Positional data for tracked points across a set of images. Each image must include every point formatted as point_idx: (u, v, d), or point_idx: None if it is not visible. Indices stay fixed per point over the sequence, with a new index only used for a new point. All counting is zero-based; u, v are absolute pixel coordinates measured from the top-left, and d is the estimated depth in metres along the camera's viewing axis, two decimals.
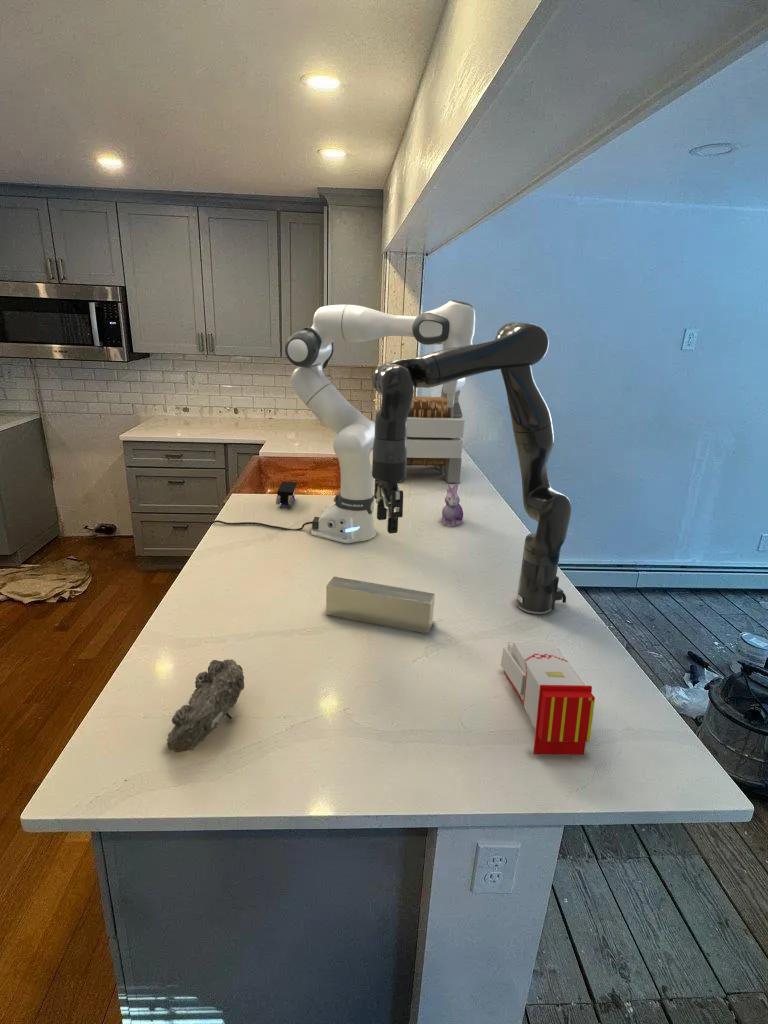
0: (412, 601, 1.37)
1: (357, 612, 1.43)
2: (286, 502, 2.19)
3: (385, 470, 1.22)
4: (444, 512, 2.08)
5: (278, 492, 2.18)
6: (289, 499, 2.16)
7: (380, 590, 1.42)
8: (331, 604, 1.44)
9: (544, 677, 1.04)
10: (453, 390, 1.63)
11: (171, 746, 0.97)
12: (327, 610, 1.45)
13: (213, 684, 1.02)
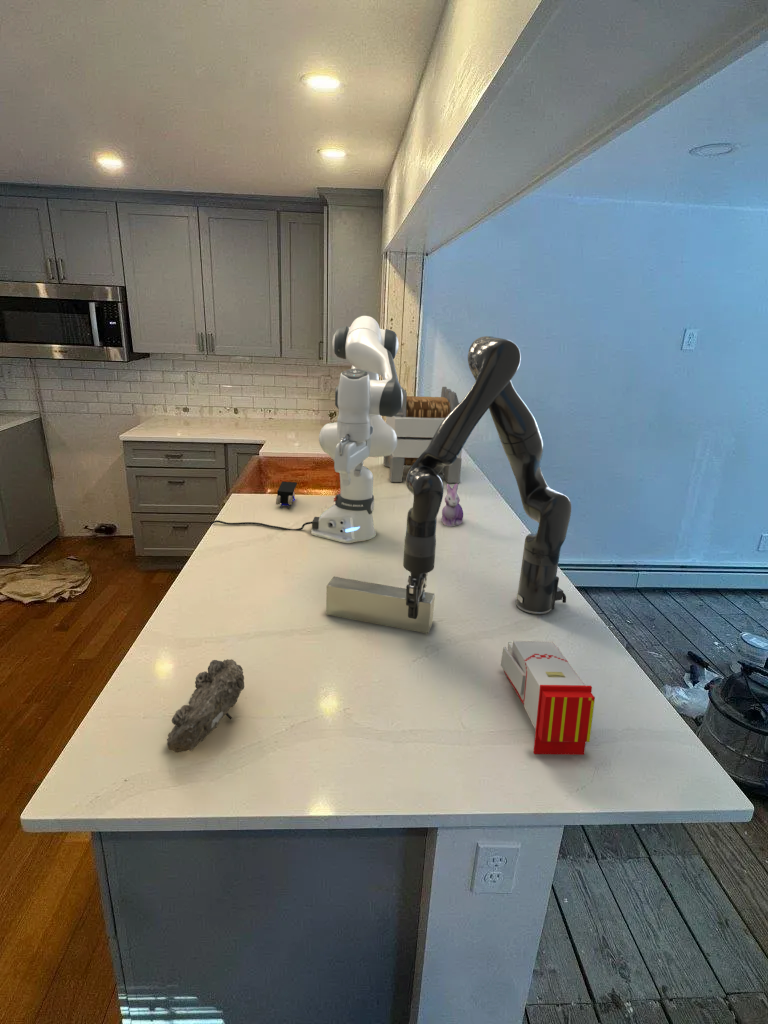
0: None
1: (357, 612, 1.43)
2: (286, 502, 2.19)
3: (408, 561, 1.34)
4: (444, 512, 2.08)
5: (278, 492, 2.18)
6: (289, 499, 2.16)
7: (380, 590, 1.42)
8: (331, 604, 1.44)
9: (544, 677, 1.04)
10: None
11: (171, 746, 0.97)
12: (327, 610, 1.45)
13: (213, 684, 1.02)
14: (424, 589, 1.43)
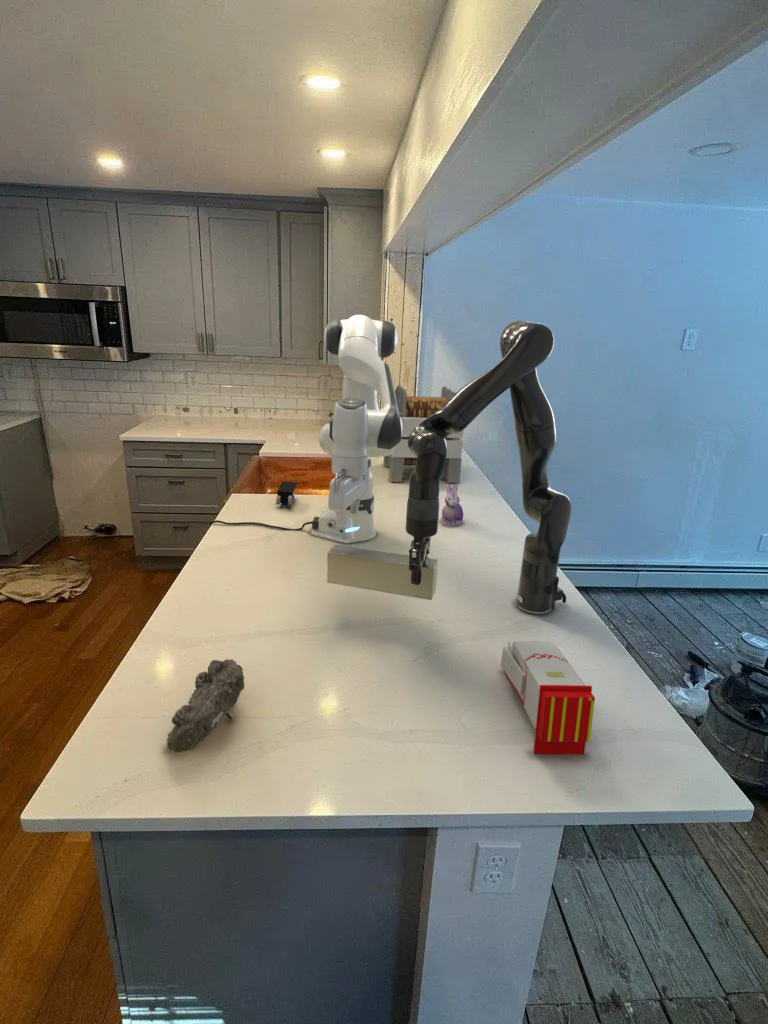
0: None
1: (359, 579, 1.40)
2: (286, 502, 2.19)
3: (411, 525, 1.31)
4: (444, 512, 2.08)
5: (278, 492, 2.18)
6: (289, 499, 2.16)
7: (382, 556, 1.38)
8: (332, 572, 1.41)
9: (544, 677, 1.04)
10: None
11: (171, 746, 0.97)
12: (328, 578, 1.42)
13: (213, 684, 1.02)
14: (427, 556, 1.40)
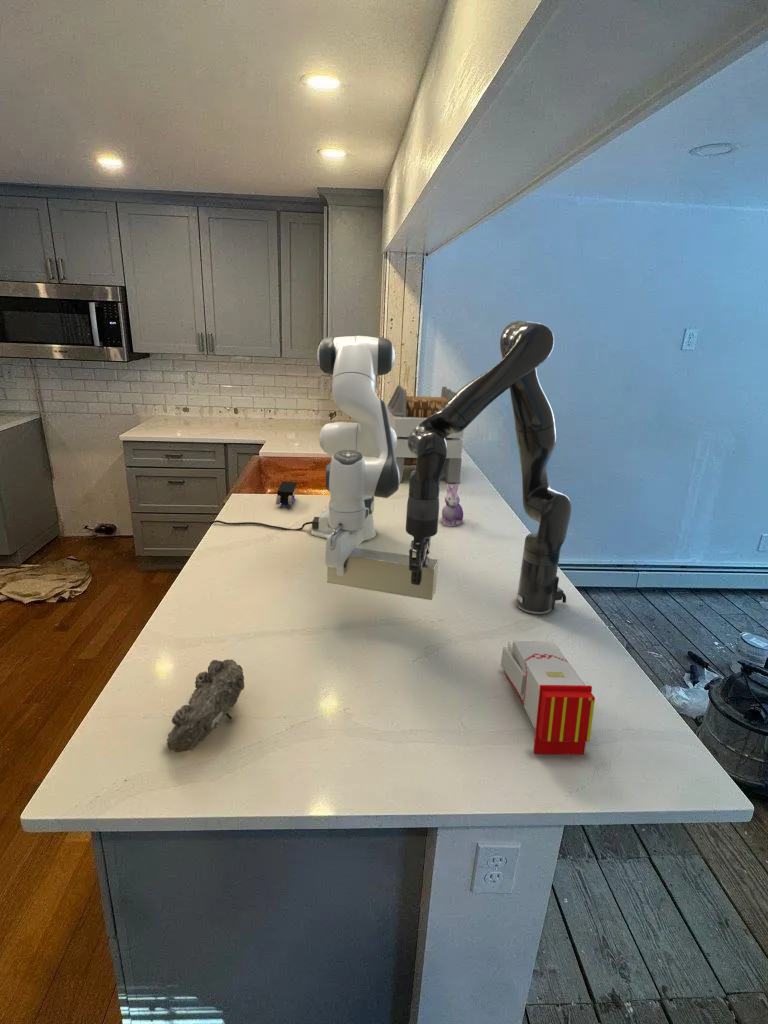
0: None
1: (359, 579, 1.40)
2: (286, 502, 2.19)
3: (411, 525, 1.31)
4: (444, 512, 2.08)
5: (278, 492, 2.18)
6: (289, 499, 2.16)
7: (382, 556, 1.38)
8: (332, 572, 1.41)
9: (544, 677, 1.04)
10: None
11: (171, 746, 0.97)
12: (328, 578, 1.42)
13: (213, 684, 1.02)
14: (427, 556, 1.40)
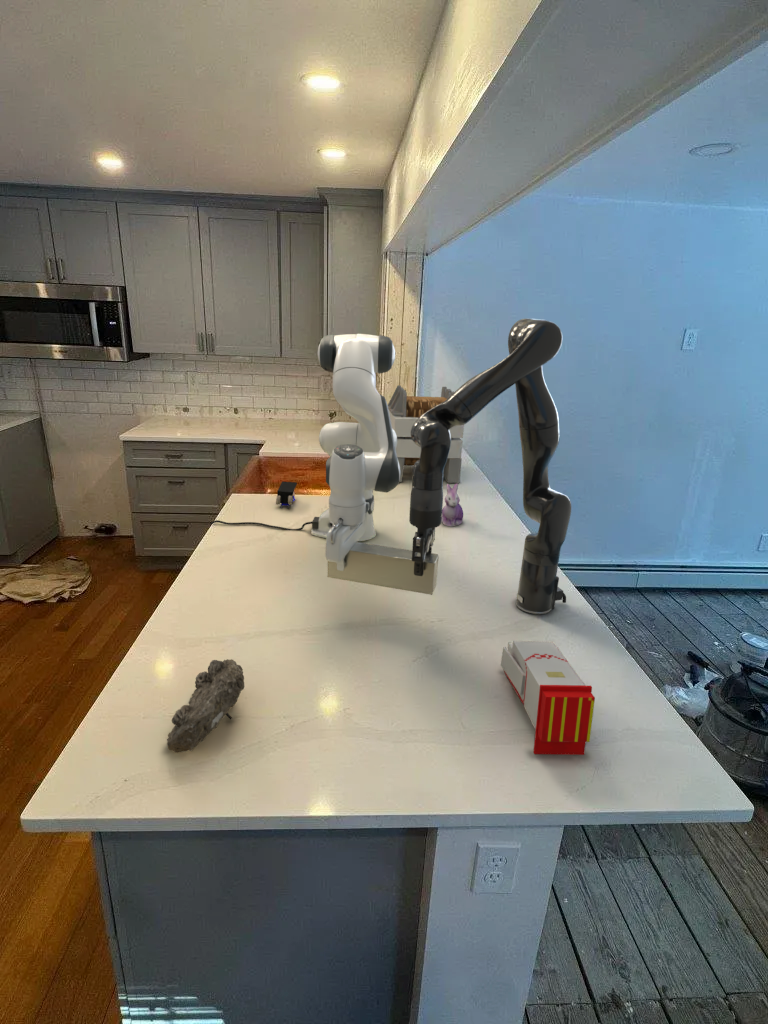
0: None
1: (359, 574, 1.39)
2: (286, 502, 2.19)
3: (414, 516, 1.30)
4: (444, 512, 2.08)
5: (278, 492, 2.18)
6: (289, 499, 2.16)
7: (383, 551, 1.38)
8: (332, 566, 1.41)
9: (544, 677, 1.04)
10: None
11: (171, 746, 0.97)
12: (328, 572, 1.42)
13: (213, 684, 1.02)
14: (432, 542, 1.40)
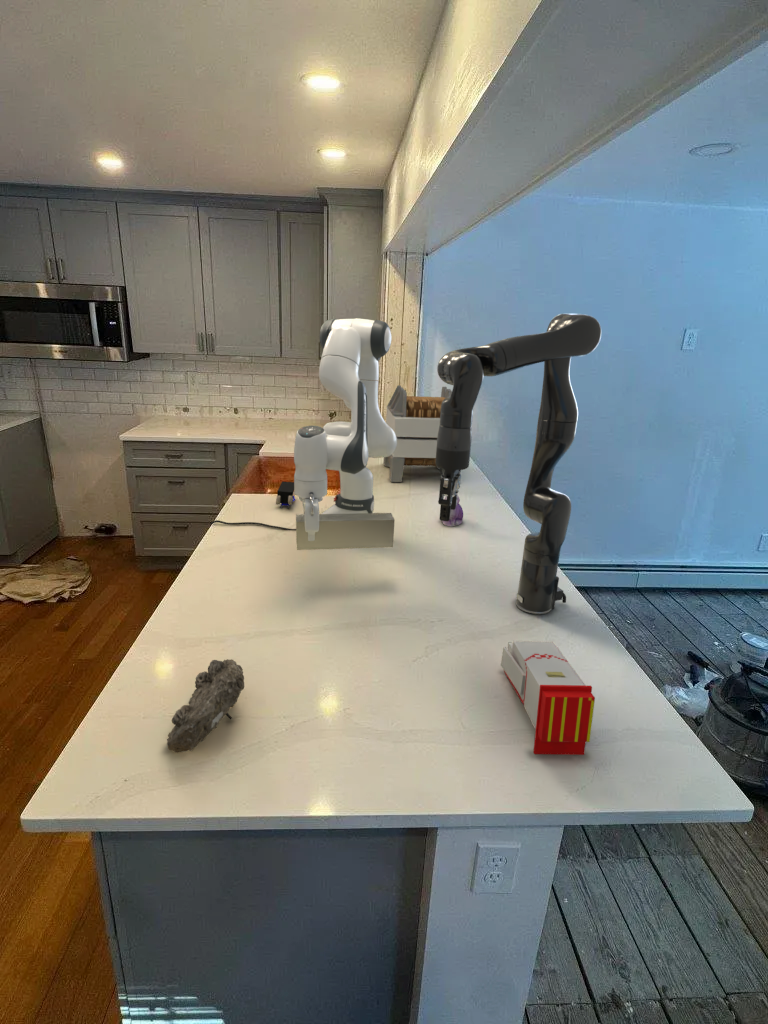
0: (378, 520, 1.56)
1: (328, 541, 1.55)
2: (286, 502, 2.19)
3: (442, 457, 1.23)
4: None
5: (278, 492, 2.18)
6: (289, 499, 2.16)
7: (346, 517, 1.56)
8: (301, 539, 1.54)
9: (544, 677, 1.04)
10: None
11: (171, 746, 0.97)
12: (297, 545, 1.54)
13: (213, 684, 1.02)
14: None
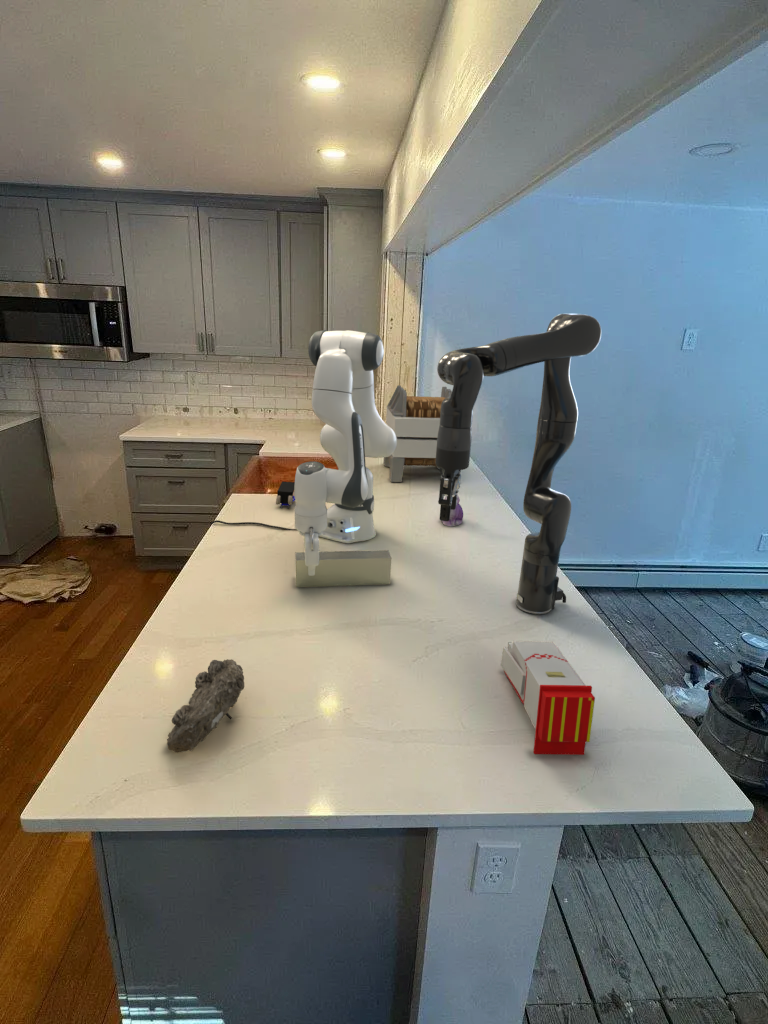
0: (375, 559, 1.60)
1: (326, 579, 1.59)
2: (286, 502, 2.19)
3: (442, 457, 1.23)
4: None
5: (278, 492, 2.18)
6: (289, 499, 2.16)
7: (344, 555, 1.60)
8: (300, 577, 1.58)
9: (544, 677, 1.04)
10: None
11: (171, 746, 0.97)
12: (296, 583, 1.58)
13: (213, 684, 1.02)
14: None
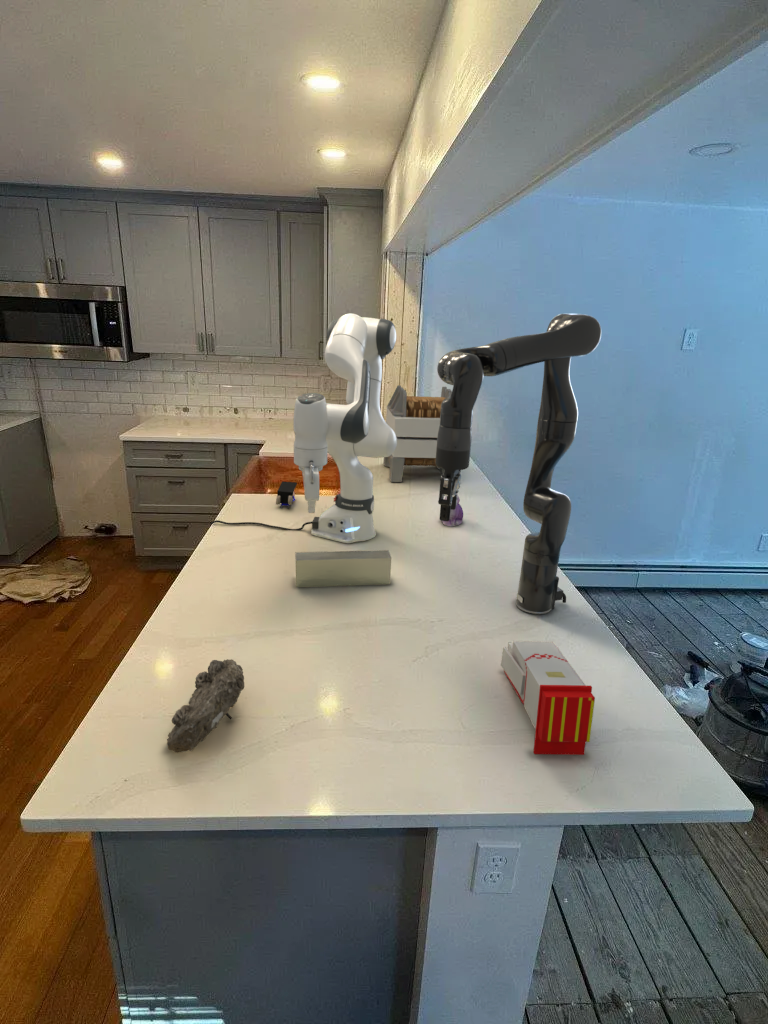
0: (375, 559, 1.60)
1: (326, 579, 1.59)
2: (286, 502, 2.19)
3: (442, 457, 1.23)
4: None
5: (278, 492, 2.18)
6: (289, 499, 2.16)
7: (344, 555, 1.60)
8: (300, 577, 1.58)
9: (544, 677, 1.04)
10: None
11: (171, 746, 0.97)
12: (296, 583, 1.58)
13: (213, 684, 1.02)
14: None
